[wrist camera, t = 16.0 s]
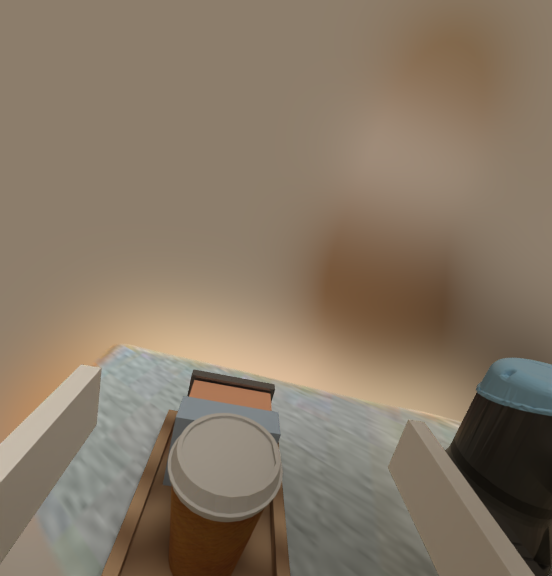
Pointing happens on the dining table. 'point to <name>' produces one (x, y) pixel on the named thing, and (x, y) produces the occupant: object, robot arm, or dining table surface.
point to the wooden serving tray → (156, 527)
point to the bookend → (231, 382)
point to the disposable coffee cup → (219, 491)
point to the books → (223, 409)
